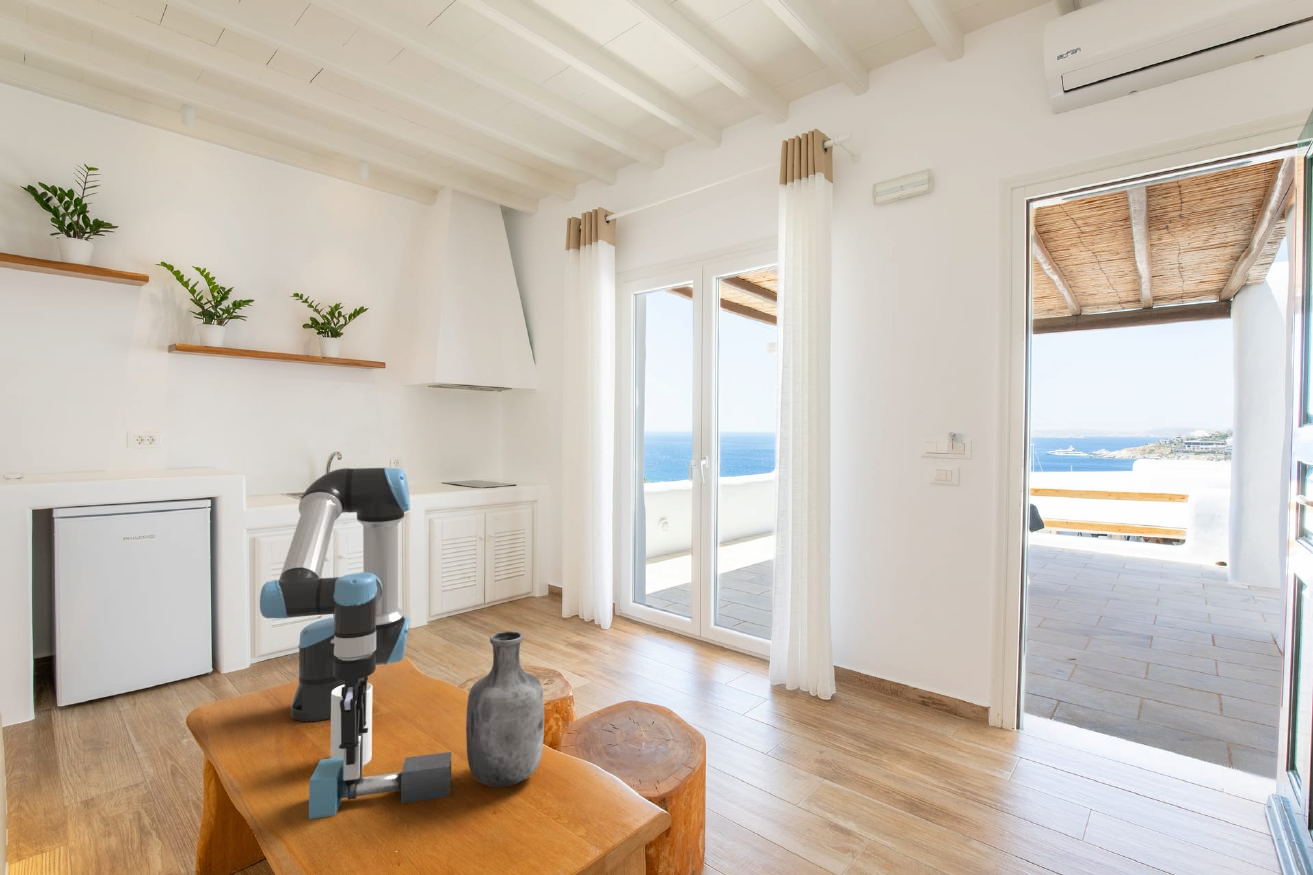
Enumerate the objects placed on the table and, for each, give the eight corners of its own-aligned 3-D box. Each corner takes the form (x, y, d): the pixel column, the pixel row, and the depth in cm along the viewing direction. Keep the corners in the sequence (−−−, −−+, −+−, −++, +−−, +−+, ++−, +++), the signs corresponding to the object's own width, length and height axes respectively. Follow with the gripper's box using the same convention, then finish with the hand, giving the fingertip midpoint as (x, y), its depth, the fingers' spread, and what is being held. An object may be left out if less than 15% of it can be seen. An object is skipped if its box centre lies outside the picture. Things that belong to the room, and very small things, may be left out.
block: (451, 780, 127) (451, 751, 127) (449, 796, 121) (449, 766, 121) (405, 786, 124) (405, 757, 124) (401, 803, 119) (401, 772, 119)
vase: (473, 808, 117) (475, 653, 117) (459, 769, 131) (460, 630, 132) (553, 787, 124) (554, 641, 125) (531, 752, 139) (532, 621, 139)
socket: (344, 792, 122) (345, 756, 122) (335, 815, 115) (335, 776, 115) (320, 795, 121) (320, 759, 121) (308, 818, 113) (309, 780, 114)
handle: (418, 783, 124) (418, 723, 124) (415, 794, 120) (416, 732, 120) (325, 796, 120) (325, 734, 120) (319, 807, 116) (320, 743, 116)
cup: (354, 772, 130) (355, 697, 130) (321, 768, 131) (322, 694, 132) (379, 753, 138) (380, 683, 138) (348, 750, 139) (348, 680, 140)
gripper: (343, 643, 126) (342, 755, 126) (323, 670, 111) (321, 799, 110) (382, 640, 128) (381, 751, 128) (367, 666, 113) (366, 793, 112)
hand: (353, 773), depth 119 cm, fingers closed on handle, 3 cm apart
